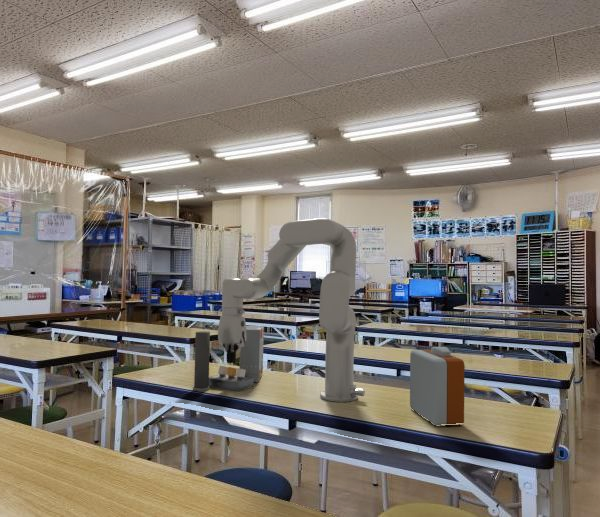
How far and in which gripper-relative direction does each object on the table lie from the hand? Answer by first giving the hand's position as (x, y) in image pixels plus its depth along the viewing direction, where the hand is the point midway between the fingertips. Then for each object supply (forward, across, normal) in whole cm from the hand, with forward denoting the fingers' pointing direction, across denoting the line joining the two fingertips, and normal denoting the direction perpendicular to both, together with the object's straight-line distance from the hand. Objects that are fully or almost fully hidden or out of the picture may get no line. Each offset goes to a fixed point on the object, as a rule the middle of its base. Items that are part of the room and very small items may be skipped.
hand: (231, 362), depth 170 cm
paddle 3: (+6, +4, 0) cm, 7 cm away
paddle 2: (+6, 0, 0) cm, 6 cm away
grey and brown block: (+9, -73, -2) cm, 74 cm away
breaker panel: (+9, 0, 0) cm, 9 cm away
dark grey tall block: (+9, +6, +9) cm, 14 cm away
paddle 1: (+6, -4, 0) cm, 7 cm away
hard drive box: (+9, +1, -15) cm, 17 cm away
